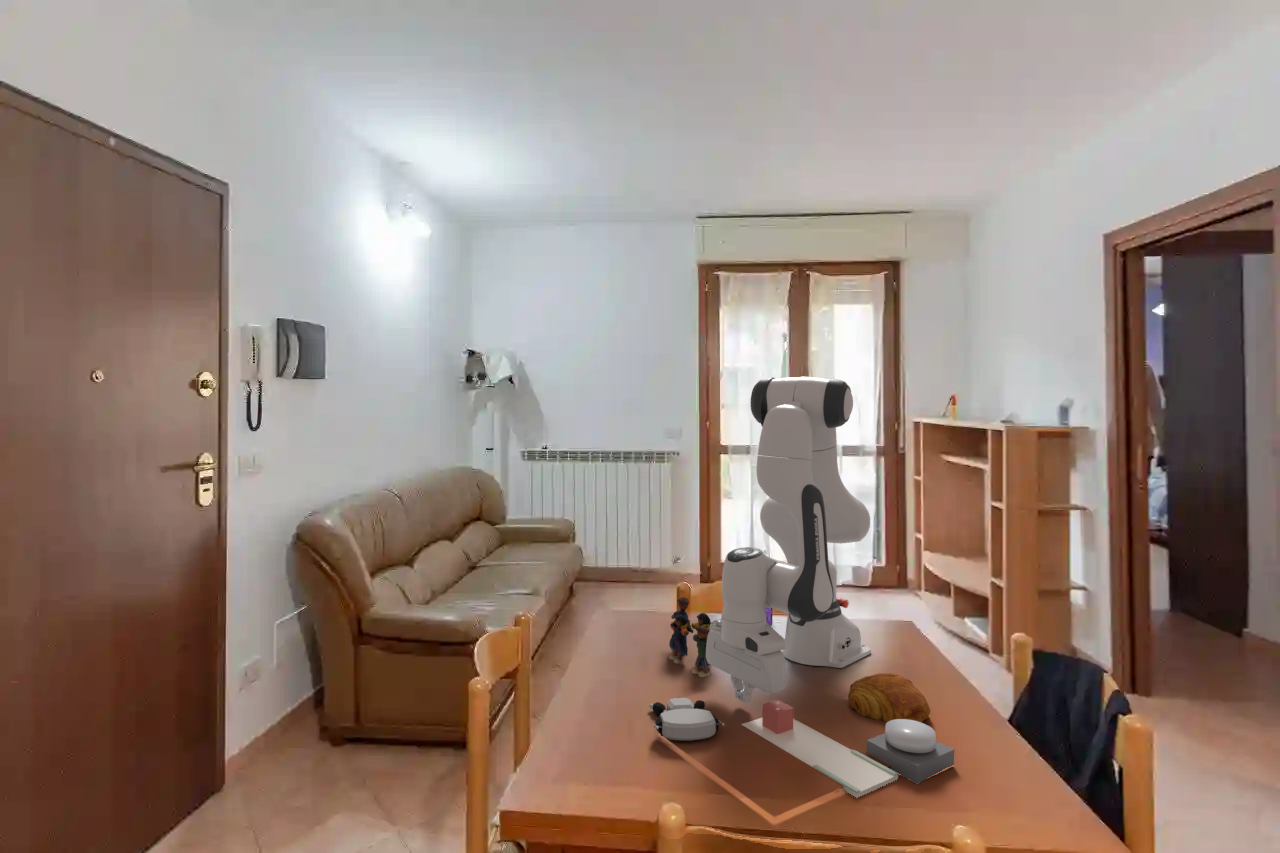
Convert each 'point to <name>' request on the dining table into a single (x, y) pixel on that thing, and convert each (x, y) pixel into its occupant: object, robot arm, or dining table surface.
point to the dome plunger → (910, 736)
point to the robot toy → (685, 720)
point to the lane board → (829, 757)
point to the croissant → (888, 698)
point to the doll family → (681, 632)
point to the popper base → (911, 759)
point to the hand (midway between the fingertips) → (742, 700)
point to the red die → (777, 716)
